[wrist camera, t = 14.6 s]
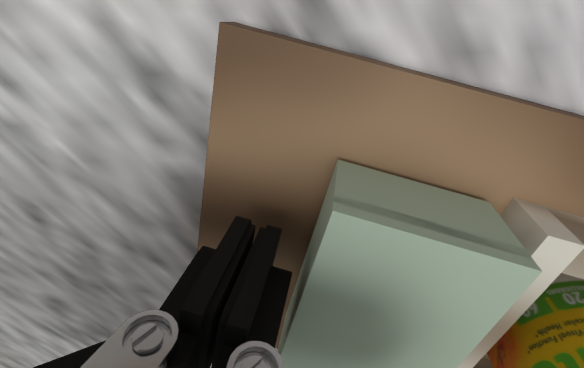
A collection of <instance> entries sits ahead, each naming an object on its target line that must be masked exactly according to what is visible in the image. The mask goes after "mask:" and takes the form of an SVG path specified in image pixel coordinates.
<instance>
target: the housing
mask: <svg viewBox="0 0 584 368" xmlns="http://www.w3.org/2000/svg"><path fill="white" fill-rule="evenodd" d="M541 273H542V270H541V269H540V268H539V266H538V265H537V264H536V262H535V261H534V260H533V258H532V257H531V256H530V254H529V253H528V252H527V251H526V249H525V248H524V247H523V245H522V244H521V243H520V241H519V240H518V239H517V237H516V236H515V235H514V234H513V232H512V231H511V230H510V228H509V227H508V226H507V224H506V223H505V222H504V220H503V219H502V218H501V217H500V215H499V214H498V213H497V211H496V210H495V209H494V207H493V206H492V205H491V203H490V202H487V201H483V200H480V199H476V198H473V197H469V196H466V195H462V194H459V193H455V192H452V191H448V190H445V189H441V188H437V187H434V186H430V185H427V184H423V183H420V182H416V181H413V180H409V179H406V178H402V177H399V176H395V175H391V174H388V173H384V172H381V171H377V170H374V169H370V168H367V167H363V166H360V165H356V164H353V163H349V162H345V161H342V160H337V163H336V166H335V169H334V172H333V175H332V178H331V181H330V184H329V187H328V190H327V193H326V196H325V199H324V202H323V205H322V208H321V211H320V214H319V217H318V220H317V223H316V226H315V229H314V232H313V235H312V238H311V241H310V244H309V247H308V250H307V253H306V255H305V258H304V261H303V264H302V267H301V270H300V273H299V276H298V279H297V282H296V285H295V288H294V291H293V294H292V297H291V300H290V303H289V306H288V309H287V312H286V315H285V320H284V324H283V328H282V333H281V337H280V342H279V346H278V351H277V352H278V353H279V354H280V355H281V358H282V360H283V363H284V368H457V367H458V366H459V365H460V364H461V363H462V362H463V360H464V359H465V358H466V357H467V356H468V355H469V354H470V353H471V351H472V350H473V349H474V348H475V347H476V346H477V345H478V344H479V342H480V341H481V340H482V339H483V338H484V337H485V336H486V335H487V333H488V332H489V331H490V330H491V329H492V328H493V327H494V326H495V324H496V323H497V322H498V321H499V320H500V319H501V318H502V317H503V315H504V314H505V313H506V312H507V311H508V310H509V309H510V307H511V306H512V305H513V304H514V303H515V302H516V301H517V300H518V298H519V297H520V296H521V295H522V294H523V293H524V292H525V291H526V289H527V288H528V287H529V286H530V285H531V284H532V283H533V282H534V280H535V279H536V278H537V277H538V276H539V275H540V274H541Z"/></svg>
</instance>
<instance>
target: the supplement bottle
mask: <svg viewBox="0 0 584 368" xmlns="http://www.w3.org/2000/svg"><path fill="white" fill-rule="evenodd" d="M487 354H488V357H489V359H490V361H491V364H492V366H493V368H584V279H581V278H577V277H574V276H570V275H567V274H563V273H561V274H560V275H559V276H558V277H557V278H556V279H555V280H554V281H553V282H552V283H551V284H550V285H549V286H548V288H547V289H546V290H545V291H544V292H543V293H542V294H541V295H540V296H539V297H538V298H537V299H536V300H535V301H534V303H533V304H532V305H531V306H530V307H529V308H528V309H527V310H526V311H525V312H524V313H523V314H522V315H521V316H520V318H519V319H518V320H517V321H516V322H515V323H514V324H513V325H512V326H511V327H510V328H509V329H508V330H507V331H506V333H505V334H504V335H503V336H502V337H501V338H500V339H499V340H498V341H497V342H496V343H495V344H494V345H493V347H492V348H491V349H490V350H489V351H488V352H487Z"/></svg>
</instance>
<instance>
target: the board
mask: <svg viewBox="0 0 584 368" xmlns="http://www.w3.org/2000/svg"><path fill="white" fill-rule="evenodd" d="M337 160H342V161H345V162H349V163H353V164H356V165H360V166H363V167H367V168H370V169H374V170H377V171H381V172H384V173H388V174H391V175H395V176H399V177H402V178H406V179H409V180H413V181H416V182H420V183H423V184H427V185H430V186H434V187H437V188H441V189H445V190H448V191H452V192H455V193H459V194H462V195H466V196H469V197H473V198H476V199H480V200H483V201H487V202H490V203H491V205H492V206H493V207H494V209H495V210H496V211H497V213H498V214H499V215H500V217H501V218H502V219H503V220H504V222H505V223H506V224H507V226H508V227H509V228H510V230H511V231H512V232H513V234H514V235H515V236H516V237H517V239H518V240H519V241H520V243H521V244H522V245H523V247H524V248H525V249H526V251H527V252H528V253H529V254H530V256H531V257H532V258H533V260H534V261H535V262H536V264H537V265H538V266H539V268H540V269H541V270H542V273H541V274H540V275H539V276H538V277H537V278H536V279H535V280H534V282H533V283H532V284H531V285H530V286H529V287H528V288H527V289H526V291H525V292H524V293H523V294H522V295H521V296H520V297H519V298H518V300H517V301H516V302H515V303H514V304H513V305H512V306H511V307H510V309H509V310H508V311H507V312H506V313H505V314H504V315H503V317H502V318H501V319H500V320H499V321H498V322H497V323H496V324H495V326H494V327H493V328H492V329H491V330H490V331H489V332H488V333H487V335H486V336H485V337H484V338H483V339H482V340H481V341H480V342H479V344H478V345H477V346H476V347H475V348H474V349H473V350H472V351H471V353H470V354H469V355H468V356H467V357H466V358H465V359H464V360H463V362H462V363H461V364H460V365H459V366H458V367H457V368H493V366H492V364H491V361H490V359H489V357H488V354H487V352H488V351H489V350H490V349H491V348H492V347H493V345H494V344H495V343H496V342H497V341H498V340H499V339H500V338H501V337H502V336H503V335H504V334H505V333H506V331H507V330H508V329H509V328H510V327H511V326H512V325H513V324H514V323H515V322H516V321H517V320H518V319H519V318H520V316H521V315H522V314H523V313H524V312H525V311H526V310H527V309H528V308H529V307H530V306H531V305H532V304H533V303H534V301H535V300H536V299H537V298H538V297H539V296H540V295H541V294H542V293H543V292H544V291H545V290H546V289H547V288H548V286H549V285H550V284H551V283H552V282H553V281H554V280H555V279H556V278H557V277H558V276H559V275H560V274H561V273H563V274H567V275H570V276H574V277H577V278H581V279H584V116H582V115H578V114H574V113H570V112H567V111H563V110H559V109H556V108H552V107H548V106H544V105H541V104H537V103H533V102H529V101H526V100H522V99H518V98H515V97H511V96H507V95H503V94H500V93H496V92H492V91H489V90H485V89H481V88H477V87H474V86H470V85H466V84H462V83H459V82H455V81H451V80H448V79H444V78H440V77H436V76H433V75H429V74H425V73H421V72H418V71H414V70H410V69H407V68H403V67H399V66H395V65H392V64H388V63H384V62H381V61H377V60H373V59H369V58H366V57H362V56H358V55H354V54H351V53H347V52H343V51H340V50H336V49H332V48H328V47H325V46H321V45H317V44H314V43H310V42H306V41H302V40H299V39H295V38H291V37H287V36H284V35H280V34H276V33H273V32H269V31H265V30H261V29H258V28H254V27H250V26H246V25H243V24H239V23H235V22H220V24H219V34H218V45H217V55H216V65H215V76H214V86H213V96H212V106H211V117H210V127H209V137H208V148H207V158H206V168H205V178H204V189H203V199H202V209H201V220H200V230H199V240H198V250H197V252H198V251H199V250H200V248H201V247H202V246H207V247H210V248H213V249H216V248H217V247H218V245H219V243H220V242H221V240H222V238H223V237H224V235H225V233H226V232H227V230H228V228H229V227H230V225H231V223H232V222H233V220H234V218H235V217H236V216H240V217H243V218H247V219H250V220H252V223H251V224H252V225H256V230H255V235H254V240H255V238H256V235H257V233H258V231H259V229H260V227H263V228H266V227H267V225H271V226H274V227H277V228H281V229H282V232H281V236H280V240H279V244H278V247H277V251H276V255H275V259H274V263H273V266H274V267H277V268H281V269H284V270H287V271H291V272H292V277H291V281H290V286H289V290H288V294H287V298H286V303H285V307H284V311H283V315H282V319H281V324H280V328H279V332H278V336H277V341H276V345H275V348H277V349H278V346H279V342H280V337H281V333H282V328H283V324H284V320H285V315H286V312H287V309H288V306H289V303H290V300H291V297H292V294H293V291H294V288H295V285H296V282H297V279H298V276H299V273H300V270H301V267H302V264H303V261H304V258H305V255H306V253H307V250H308V247H309V244H310V241H311V238H312V235H313V232H314V229H315V226H316V223H317V220H318V217H319V214H320V211H321V208H322V205H323V202H324V199H325V196H326V193H327V190H328V187H329V184H330V181H331V178H332V175H333V172H334V169H335V166H336V163H337ZM254 240H253V242H254Z"/></svg>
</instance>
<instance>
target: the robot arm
mask: <svg viewBox="0 0 584 368" xmlns="http://www.w3.org/2000/svg"><path fill="white" fill-rule="evenodd" d="M251 223H252V220H250V219H247V218H243V217H240V216H236V217H235V218H234V220H233V222H232V223H231V225H230V227H229V228H228V230H227V232H226V233H225V235H224V237H223V238H222V240H221V242H220V243H219V245H218V247H217V248H216V249H213V248H210V247H207V246H202V247H201V248H200V250H199V251H198V252H197V254H196V255H195V257H194V258H193V260H192V261H191V263H190V264H189V266H188V267H187V269H186V270H185V272H184V273H183V275H182V276H181V278H180V279H179V281H178V282H177V284H176V285H175V287H174V288H173V290H172V291H171V293H170V294H169V296H168V297H167V299H166V300H165V302H164V303H163V305H162V306H161V308H160V309H159V310H147V311H143V312H140V313H137V314H135V315H133V316H131V317H130V318H129V319H128V320H127V321H125V322H124V323H123V324H122V325H121V326H120V327H119V328H118V329H117V330H116V331H115V332H114V333H113V334H112V335H111V336H110V337H109V338H108V339H107V340H106V341H103V342H100V343H98V344H95V345H92V346H90V347H87V348H84V349H82V350H79V351H76V352H74V353H71V354H68V355H66V356H63V357H60V358H58V359H55V360H52V361H50V362H47V363H44V364H42V365H39V366H36V367H34V368H210V366H211V363H212V367H211V368H284V363H283V360H282V358H281V355H280V354H279V353H278V352H277V350H276V349H275V345H276V341H277V336H278V332H279V328H280V324H281V319H282V315H283V311H284V307H285V303H286V298H287V294H288V290H289V286H290V281H291V277H292V272H291V271H287V270H284V269H281V268H277V267H274V266H273V263H274V259H275V255H276V251H277V247H278V244H279V240H280V236H281V232H282V229H281V228H277V227H274V226H271V225H267V227H266V228H263V227H260V229H259V231H258V233H257V235H256V238H255V240H254V235H255V230H256V225H252V224H251ZM253 240H254V242H253Z"/></svg>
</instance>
